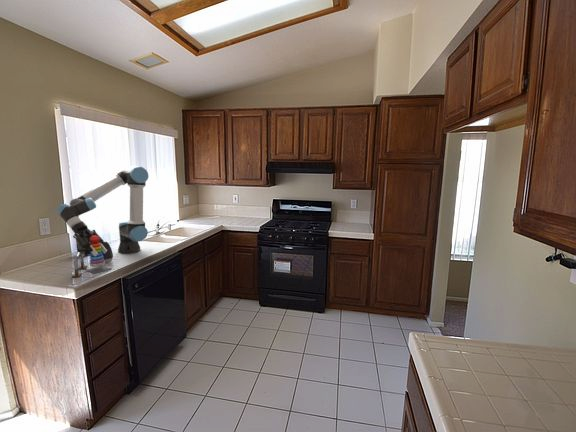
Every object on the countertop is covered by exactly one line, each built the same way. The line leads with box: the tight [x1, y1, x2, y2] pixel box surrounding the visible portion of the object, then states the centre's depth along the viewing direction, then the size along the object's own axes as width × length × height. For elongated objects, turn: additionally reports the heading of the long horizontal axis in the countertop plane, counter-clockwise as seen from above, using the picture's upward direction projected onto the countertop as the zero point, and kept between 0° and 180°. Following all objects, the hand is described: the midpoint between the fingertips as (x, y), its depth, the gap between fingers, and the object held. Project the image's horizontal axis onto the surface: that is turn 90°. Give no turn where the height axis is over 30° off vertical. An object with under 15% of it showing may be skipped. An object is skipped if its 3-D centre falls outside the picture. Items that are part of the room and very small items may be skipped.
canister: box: [75, 237, 92, 257], centre depth 212 cm, size 10×10×18 cm
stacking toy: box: [89, 235, 106, 268], centre depth 180 cm, size 8×8×19 cm
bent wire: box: [71, 251, 88, 279], centre depth 177 cm, size 4×18×13 cm, turn 24°
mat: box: [84, 265, 112, 275], centre depth 182 cm, size 10×10×1 cm
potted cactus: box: [102, 240, 114, 265], centre depth 196 cm, size 10×10×15 cm
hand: (101, 253), depth 179 cm, fingers closed on stacking toy, 6 cm apart
